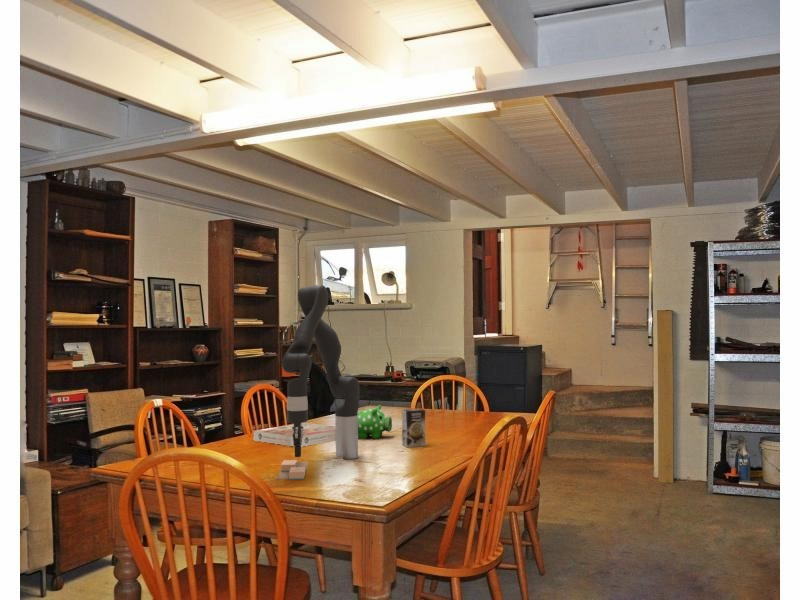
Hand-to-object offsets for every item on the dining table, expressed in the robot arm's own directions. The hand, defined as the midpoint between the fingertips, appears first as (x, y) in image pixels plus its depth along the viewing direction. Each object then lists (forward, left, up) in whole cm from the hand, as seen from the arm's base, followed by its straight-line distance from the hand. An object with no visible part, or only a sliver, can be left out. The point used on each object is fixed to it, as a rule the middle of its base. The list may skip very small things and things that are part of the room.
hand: (297, 456), depth 244 cm
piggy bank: (-30, -82, -8) cm, 87 cm away
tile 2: (0, 0, -5) cm, 5 cm away
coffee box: (-48, -57, -8) cm, 74 cm away
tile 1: (+4, -13, -5) cm, 15 cm away
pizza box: (+5, -82, -8) cm, 83 cm away
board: (+2, -8, -8) cm, 11 cm away
